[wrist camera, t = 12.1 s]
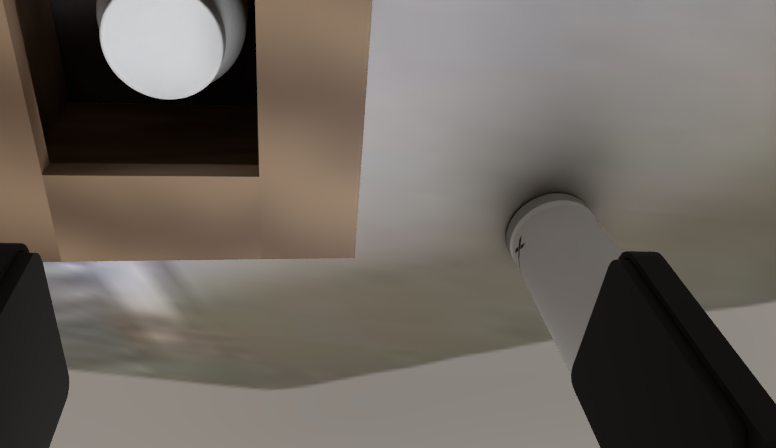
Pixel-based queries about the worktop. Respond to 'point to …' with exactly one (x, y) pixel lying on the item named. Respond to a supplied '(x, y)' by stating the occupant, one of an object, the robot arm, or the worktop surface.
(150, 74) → the pill bottle
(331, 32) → the box
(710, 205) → the worktop surface
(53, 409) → the robot arm
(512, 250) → the travel mug
